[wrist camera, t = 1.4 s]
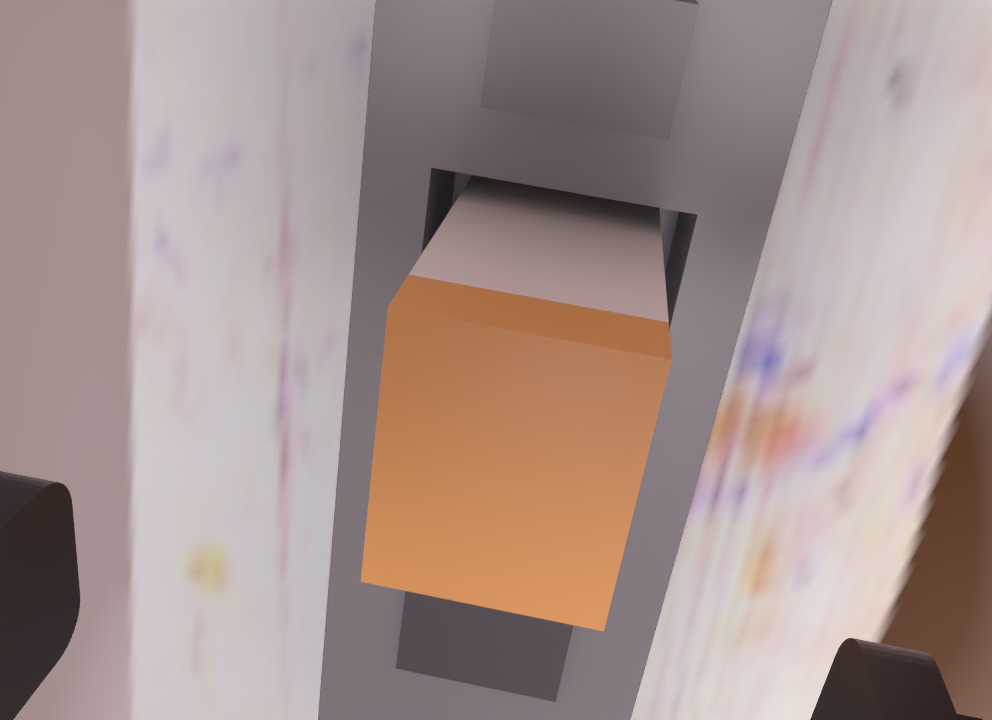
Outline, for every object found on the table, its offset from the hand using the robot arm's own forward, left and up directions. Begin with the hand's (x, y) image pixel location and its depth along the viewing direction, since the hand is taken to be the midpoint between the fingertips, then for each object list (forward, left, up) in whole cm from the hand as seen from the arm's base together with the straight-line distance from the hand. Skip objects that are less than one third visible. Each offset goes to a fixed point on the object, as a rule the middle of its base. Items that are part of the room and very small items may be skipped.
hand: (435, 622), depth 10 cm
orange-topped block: (0, 0, -11) cm, 11 cm away
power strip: (-4, -1, -12) cm, 13 cm away
